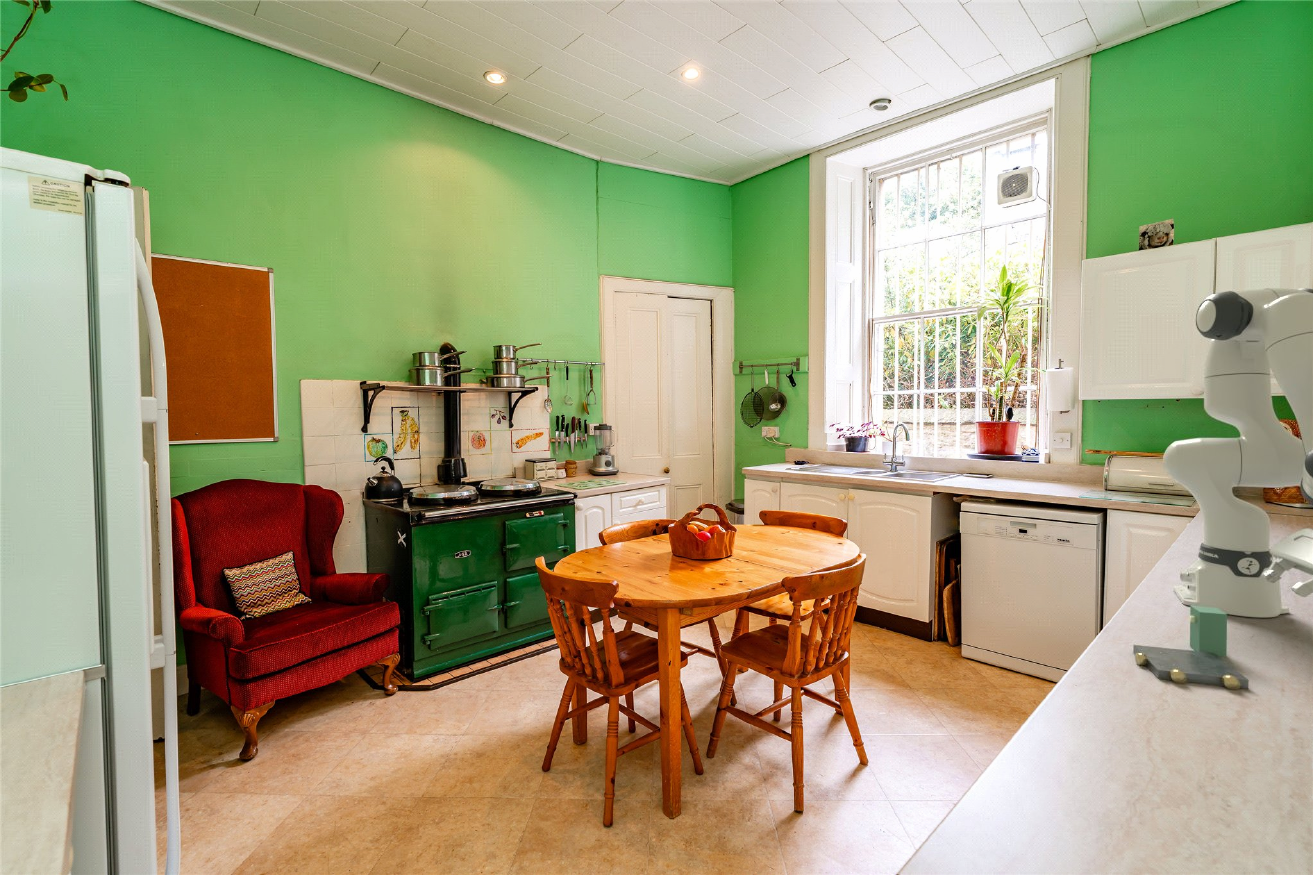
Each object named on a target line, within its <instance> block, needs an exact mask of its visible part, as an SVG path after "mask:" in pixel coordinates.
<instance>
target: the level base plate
mask: <svg viewBox="0 0 1313 875" xmlns="http://www.w3.org/2000/svg"><path fill="white" fill-rule="evenodd" d="M1132 648H1133V649H1132V650H1133V652H1132V653H1133V654H1134V659H1135V663H1136V665H1137V666H1138V665H1139V666H1140V665H1141V666H1146V667H1147V669H1149V671H1150V672H1151V673H1152V674H1153V675H1154V676H1155V677H1156V678H1157V679H1159V680H1160V679H1161V680H1166V681H1167V680H1168V681H1173V682H1175V683H1176V684H1179V685H1181V684H1184V683H1193V684H1202V685H1213V686H1218V687H1220V686H1221V687H1226V688H1227V689H1228V690H1231V691H1232V690H1233V691H1237V690H1239V689H1244V690H1245V689H1247V690H1248V689H1249V679H1248V678H1247V677H1245V675H1243V674H1241V672H1239V671H1238V670H1237V669H1235V668H1234V667H1233V666H1231V665H1230V664H1229V663H1228V662H1226V661H1225V660H1223V659H1222V658H1221V656H1217V655H1216V654H1215V653H1211V652H1201V651H1195V650H1189V649H1180V648H1179V649H1178V648H1171V647H1170V648H1169V647H1158V646H1149V645H1148V646H1147V645H1140V644H1139V645H1138V644H1133V647H1132Z"/></svg>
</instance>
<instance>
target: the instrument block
mask: <svg viewBox="0 0 1313 875" xmlns="http://www.w3.org/2000/svg"><path fill="white" fill-rule="evenodd" d="M1189 607H1190V609H1189V610H1190V611H1189V612H1190V613H1189V647H1190V648H1191V649H1192V651H1201V652H1211V653H1215V654H1216V655H1217V656H1219V657H1220V658H1221V657H1222V658H1223V657H1224V658H1227V651H1228V650H1227V648H1228V646H1227V640H1228V638H1227V637H1228V614H1226V613H1224V612H1223V611H1221V610H1220V609H1218V608H1214V607H1201V606H1190V605H1189Z"/></svg>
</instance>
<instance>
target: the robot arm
mask: <svg viewBox="0 0 1313 875" xmlns="http://www.w3.org/2000/svg"><path fill="white" fill-rule="evenodd" d="M1195 327H1196V329H1197V331H1198V332H1199V333H1200V335H1201V336H1202V337H1204V338H1207V339H1210V341H1209V343H1208V347H1207V350H1206V356H1205V360H1204V361H1205V362H1204V370H1203V371H1204V373H1203V374H1204V375H1203V387H1204V388H1203V409H1204V411H1205V412H1206V414H1207V415H1208V416H1210V417H1211V418H1213V419H1215V420H1217V421H1219V422H1223V423H1225V424H1228V425H1231V426H1233V427H1235V428H1236V429H1237V431H1239V434H1240V437H1196V438H1195V437H1194V438H1188V439H1181V440H1175V441H1173V442H1172V443H1171V444H1170V445H1168V446H1167V448H1166V450H1165V451H1164V453H1163V457H1162V465H1163V466H1162V467H1163V469H1164V471H1165V472H1166V474H1167V475H1168V476H1169V477H1170V478H1171V479H1172V480H1173V481H1175V482H1176V483H1178V484H1180V485H1181V486H1183V487H1184V488H1185V489H1186V490H1187V491H1188V492H1189V493H1190V494H1191V495H1192V496H1193V498H1194V500H1195V501H1196V502H1197V504H1198V506H1199V509H1200V513H1201V520H1202V543H1201V544H1200V546H1199V549H1198V555H1197V556H1198V559H1197V560H1196V561H1195V562H1193V563H1192V564H1191V565H1190V566H1189V567H1187V568H1186V570H1185V571H1181V572H1179V573H1180V574H1179V575H1180V576H1179V577H1180V578H1179V579H1180V581H1181V582H1184V584H1178V585H1176V584H1175V585H1173V587H1172V589H1173V591H1174V593H1175V594H1176V596H1177V598H1178V599H1179V600H1180V602H1181V603H1182V604H1183V605H1185V606H1189V607H1190V606H1201V607H1214V608H1218V609H1220V610H1221V611H1223V612H1224V613H1226V614H1227V615H1231V616H1232V615H1233V616H1240V617H1248V618H1275V617H1279V616H1280V615H1283V614H1289V613H1290V607H1288V606H1285V605H1283V604H1282V592H1281V590H1282V589H1281V579H1282V577H1281V576H1282V575H1283V574H1284V573H1285V572H1286V571H1287V572H1288V571H1290V570H1291V569H1295V570H1298V571H1300V572H1303V573H1306V574H1308V575H1310V576H1312V577H1311V578H1309V579H1308V580H1304V581H1303V582H1301V581H1299V582H1297V583H1296V584H1294V585H1293V586H1291V588H1290V589H1291V591H1292V592H1294V594H1296V595H1298V596H1300V597H1302V598H1307V597H1308V596H1309V595H1311V594H1312V593H1313V528H1309V527H1306V528H1302V529H1299V530H1297V531H1294V532H1293V533H1291V534H1289V535H1288V536H1286V537H1284V538H1283V539H1281V540H1280V541H1278V542H1276V543H1275V544H1274V545H1272V546H1270V545H1271V544H1270V543H1271V542H1270V541H1271V540H1270V539H1271V536H1270V535H1271V519H1270V517H1269V515H1268V514H1267V512H1266V511H1265V510H1264V509H1262V508H1261V507H1259V506H1257V505H1255V504H1253V503H1250V502H1248V501H1245V500H1243V499H1240V498H1238V497H1236V496H1235V495H1234V493H1233V488H1234V487H1249V488H1253V487H1254V488H1274V489H1277V488H1288V487H1289V488H1290V487H1299V486H1300V489H1299V490H1300V492H1301V495H1302V497H1303V498H1304V499H1305V501H1307V503H1309V504H1310V505H1311V506H1313V288H1305V287H1304V288H1286V287H1285V288H1281V287H1280V288H1279V287H1268V288H1262V289H1248V290H1240V291H1233V290H1228V291H1221V292H1218V293H1214V294H1210V295H1209V296H1207V297H1206V298H1205V299H1204V300H1203V301H1202V302H1201V303H1200V304H1199V306H1198V308H1197V311H1196V313H1195ZM1271 372H1272V374H1273V377H1274V378H1275V381H1276V382H1277V384H1278V386H1279V388H1280V389H1281V391H1282V393H1283V395H1284V397H1285V399H1286V400H1287V402H1288V404H1289V406H1290V408H1291V410H1292V412H1293V414H1294V416H1295V420H1296V424H1297V427H1298V430H1299V434H1300V438H1299V437H1297V436H1295V435H1294V434H1292V433H1291V432H1290V431H1289V430H1288V429H1287V428H1286V427H1285V426H1284V425H1283V424H1282V423H1281V421H1280V420H1279V418H1278V417H1277V415H1276V412H1275V410H1274V405H1273V397H1272V389H1271V388H1272V387H1271V386H1272V384H1271V380H1272V377H1271ZM1274 558H1275V559H1274Z"/></svg>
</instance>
